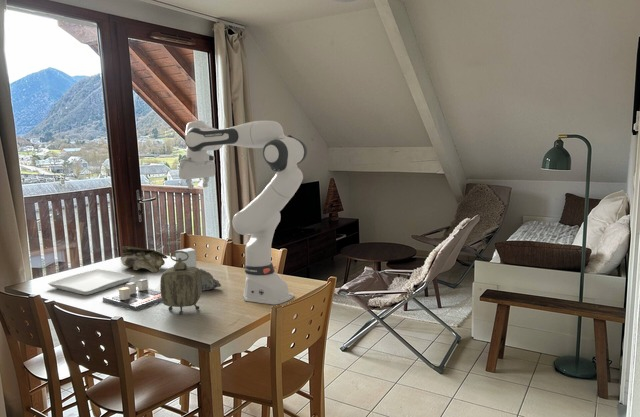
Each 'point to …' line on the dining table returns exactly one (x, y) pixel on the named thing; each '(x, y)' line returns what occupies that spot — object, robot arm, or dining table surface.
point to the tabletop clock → (181, 285)
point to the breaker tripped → (124, 293)
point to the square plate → (91, 281)
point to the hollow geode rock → (142, 258)
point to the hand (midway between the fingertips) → (198, 188)
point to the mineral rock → (208, 281)
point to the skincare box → (191, 259)
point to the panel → (136, 299)
